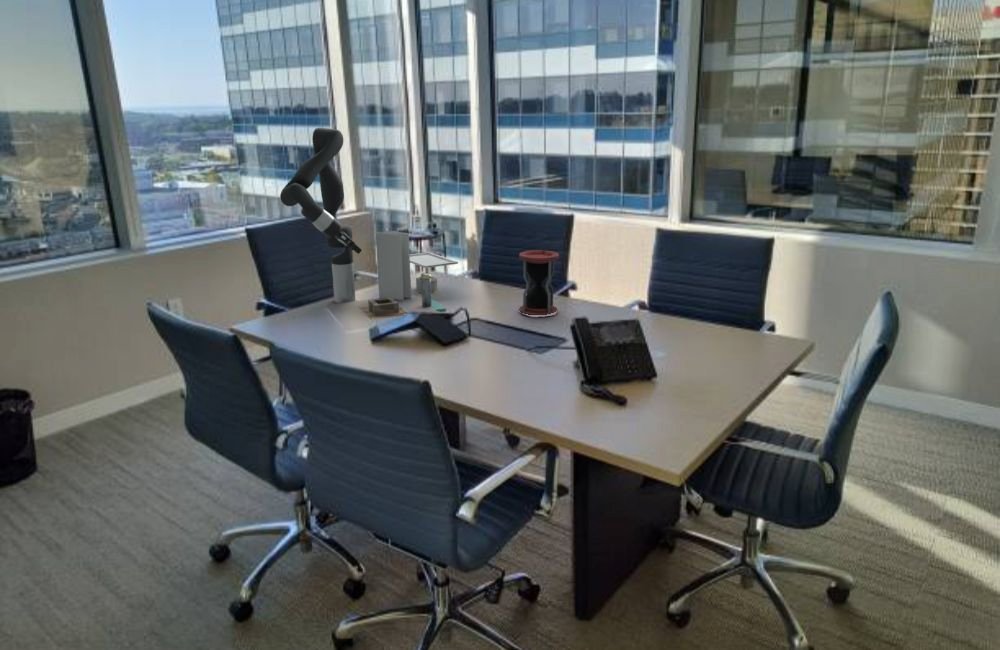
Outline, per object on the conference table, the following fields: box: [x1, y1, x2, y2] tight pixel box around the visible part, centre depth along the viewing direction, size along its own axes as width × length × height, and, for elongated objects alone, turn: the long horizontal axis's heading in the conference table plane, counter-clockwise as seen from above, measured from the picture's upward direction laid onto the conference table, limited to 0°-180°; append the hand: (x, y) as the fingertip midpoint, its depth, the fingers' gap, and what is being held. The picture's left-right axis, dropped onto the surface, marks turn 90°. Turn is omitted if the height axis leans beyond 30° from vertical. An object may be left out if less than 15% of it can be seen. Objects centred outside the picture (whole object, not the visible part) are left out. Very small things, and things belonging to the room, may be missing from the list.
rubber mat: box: [430, 300, 447, 312], centre depth 294 cm, size 14×12×1 cm
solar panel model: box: [410, 251, 459, 293], centre depth 322 cm, size 28×17×15 cm, turn 34°
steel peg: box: [420, 272, 432, 308], centre depth 292 cm, size 4×4×14 cm
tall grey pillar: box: [375, 230, 412, 301], centre depth 304 cm, size 14×6×30 cm, turn 58°
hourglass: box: [518, 249, 560, 315], centre depth 284 cm, size 16×16×25 cm
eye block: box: [358, 297, 408, 320], centre depth 286 cm, size 20×16×5 cm
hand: (357, 250), depth 275 cm, fingers open, 8 cm apart
